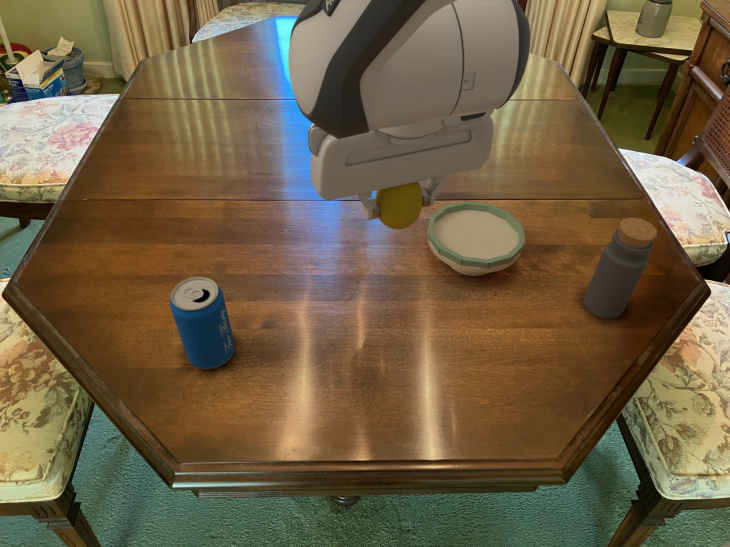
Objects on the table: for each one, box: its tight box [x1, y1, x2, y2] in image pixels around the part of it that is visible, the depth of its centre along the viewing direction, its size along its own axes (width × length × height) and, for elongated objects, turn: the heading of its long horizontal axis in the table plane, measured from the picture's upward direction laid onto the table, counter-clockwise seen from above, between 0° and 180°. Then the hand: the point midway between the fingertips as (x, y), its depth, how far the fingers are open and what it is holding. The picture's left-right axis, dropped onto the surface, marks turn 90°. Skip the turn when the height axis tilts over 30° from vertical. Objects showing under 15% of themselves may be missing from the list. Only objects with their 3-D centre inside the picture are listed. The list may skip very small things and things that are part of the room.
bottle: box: [583, 217, 658, 320], centre depth 78 cm, size 6×6×15 cm
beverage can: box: [169, 276, 236, 370], centre depth 72 cm, size 6×6×12 cm
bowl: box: [426, 200, 526, 277], centre depth 88 cm, size 15×15×6 cm
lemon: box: [374, 181, 423, 230], centre depth 64 cm, size 6×6×8 cm
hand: (398, 209), depth 65 cm, fingers closed on lemon, 5 cm apart
